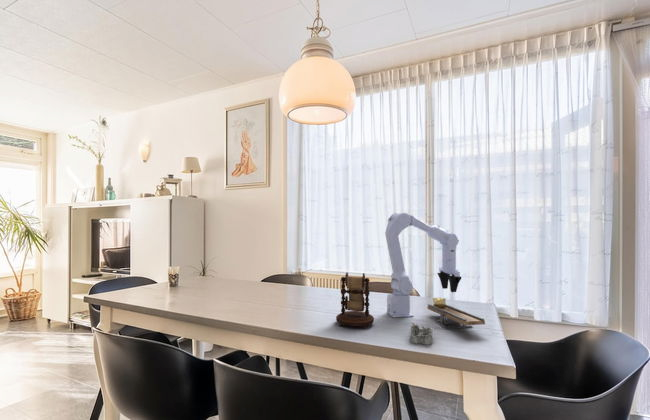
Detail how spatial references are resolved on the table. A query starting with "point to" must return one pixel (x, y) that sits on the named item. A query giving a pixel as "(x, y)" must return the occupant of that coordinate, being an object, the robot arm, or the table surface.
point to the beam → (458, 315)
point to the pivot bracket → (450, 323)
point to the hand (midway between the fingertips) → (449, 290)
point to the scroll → (355, 302)
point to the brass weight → (439, 302)
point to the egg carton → (421, 334)
